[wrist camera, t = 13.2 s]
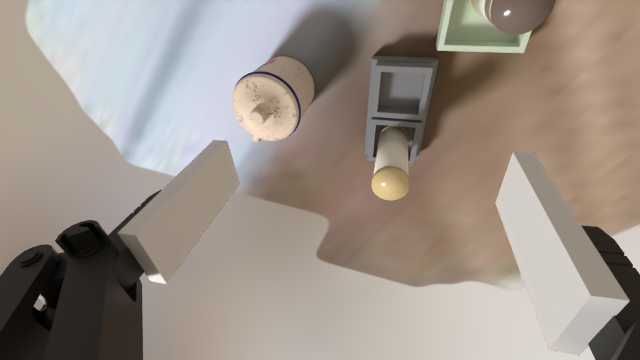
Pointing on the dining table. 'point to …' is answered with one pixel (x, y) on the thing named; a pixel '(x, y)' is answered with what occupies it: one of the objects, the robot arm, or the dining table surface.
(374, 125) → the fuse block
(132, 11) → the dining table surface
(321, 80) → the dining table surface
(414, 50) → the dining table surface
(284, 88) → the teacup with lid
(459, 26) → the parts tray
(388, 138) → the fuse
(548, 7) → the cylinder
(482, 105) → the dining table surface
